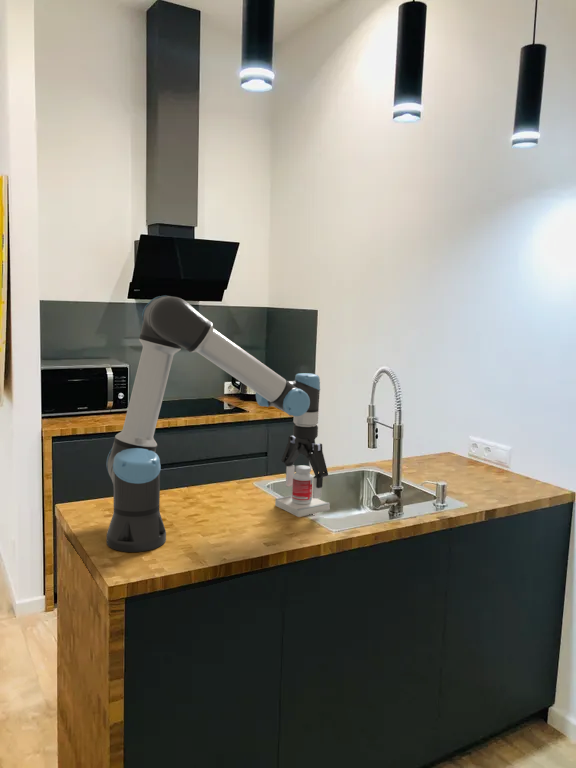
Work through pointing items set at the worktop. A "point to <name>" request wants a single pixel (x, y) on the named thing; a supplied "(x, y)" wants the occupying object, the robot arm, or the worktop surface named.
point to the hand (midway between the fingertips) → (302, 491)
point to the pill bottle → (302, 485)
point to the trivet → (302, 506)
